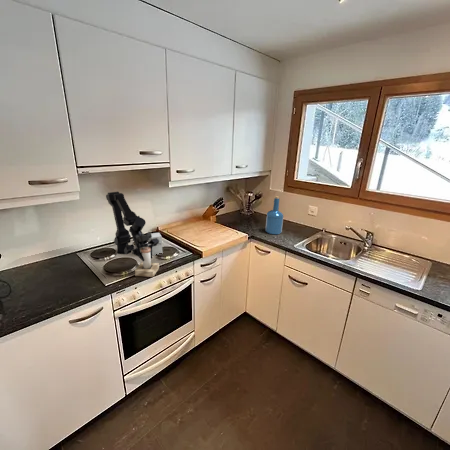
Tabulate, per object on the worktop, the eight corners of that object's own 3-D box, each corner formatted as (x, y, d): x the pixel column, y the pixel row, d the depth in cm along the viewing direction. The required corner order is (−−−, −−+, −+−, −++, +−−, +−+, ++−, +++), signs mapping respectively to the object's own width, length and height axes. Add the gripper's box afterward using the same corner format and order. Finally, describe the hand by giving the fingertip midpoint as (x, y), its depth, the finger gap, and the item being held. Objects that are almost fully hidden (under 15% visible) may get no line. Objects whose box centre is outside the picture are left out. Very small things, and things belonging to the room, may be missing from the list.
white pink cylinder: (141, 270, 142) (139, 250, 138) (144, 266, 147) (143, 246, 142) (149, 270, 142) (148, 251, 138) (153, 266, 146) (151, 247, 142)
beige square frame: (135, 276, 141) (134, 270, 139) (142, 267, 150) (142, 262, 149) (153, 277, 140) (152, 272, 139) (159, 268, 149) (158, 263, 148)
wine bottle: (276, 228, 220) (280, 194, 210) (284, 234, 208) (289, 198, 198) (262, 230, 216) (265, 194, 206) (269, 235, 204) (273, 198, 194)
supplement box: (151, 256, 164) (150, 237, 160) (148, 251, 170) (147, 233, 166) (162, 254, 167) (161, 236, 163) (160, 249, 173) (159, 232, 169)
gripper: (124, 232, 133) (135, 259, 129) (156, 224, 145) (167, 249, 141) (119, 241, 141) (129, 266, 137) (151, 233, 153) (161, 256, 149)
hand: (147, 259), depth 141 cm, fingers closed on white pink cylinder, 4 cm apart
